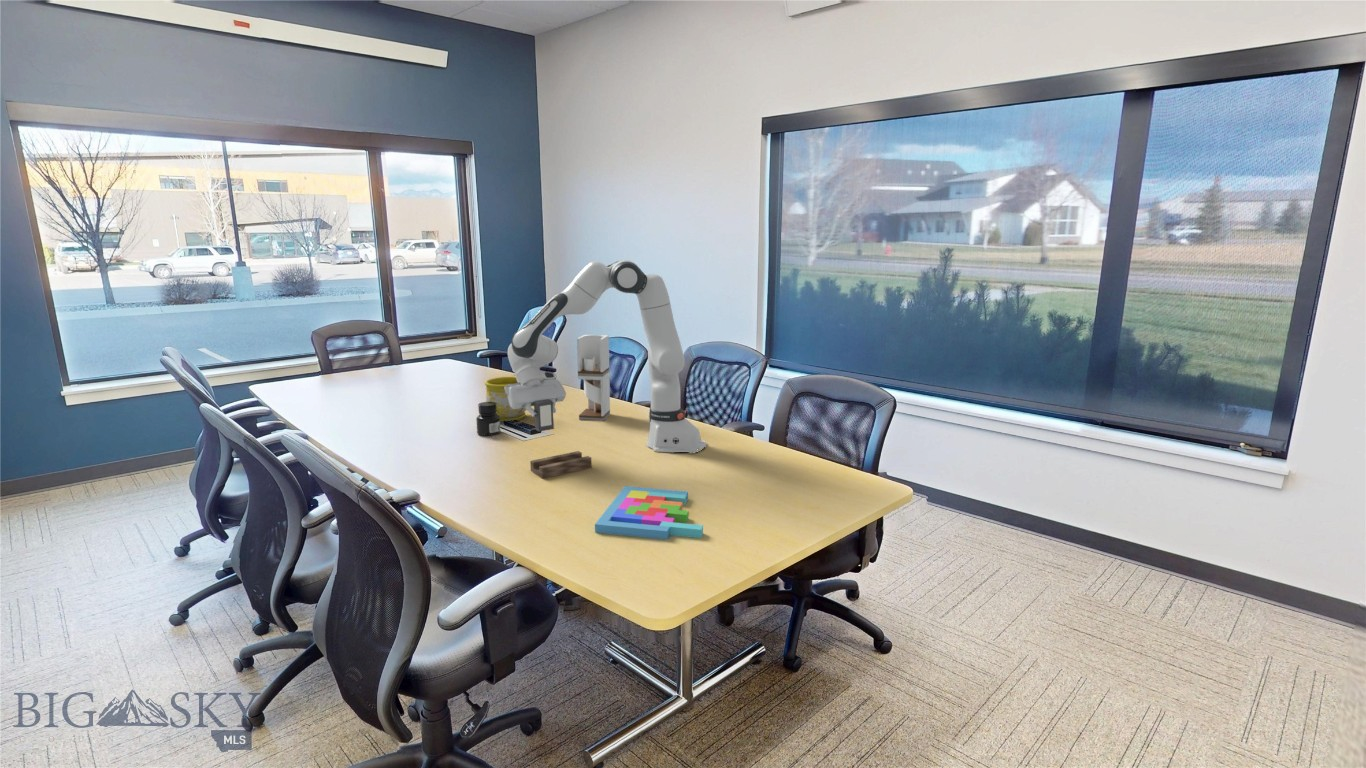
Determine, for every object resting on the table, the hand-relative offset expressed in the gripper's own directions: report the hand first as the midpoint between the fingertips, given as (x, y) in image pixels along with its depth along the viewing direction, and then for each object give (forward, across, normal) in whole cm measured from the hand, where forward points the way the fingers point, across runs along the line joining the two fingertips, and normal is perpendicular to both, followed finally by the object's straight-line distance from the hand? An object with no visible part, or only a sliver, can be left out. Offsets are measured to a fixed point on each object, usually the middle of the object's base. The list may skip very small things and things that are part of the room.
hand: (544, 413), depth 227 cm
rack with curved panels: (-16, +42, +40) cm, 60 cm away
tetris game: (+56, +4, -31) cm, 65 cm away
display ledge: (+20, 0, +3) cm, 20 cm away
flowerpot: (-30, +11, +54) cm, 63 cm away
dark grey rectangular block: (+4, 0, +4) cm, 6 cm away
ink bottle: (-18, -4, +42) cm, 46 cm away
